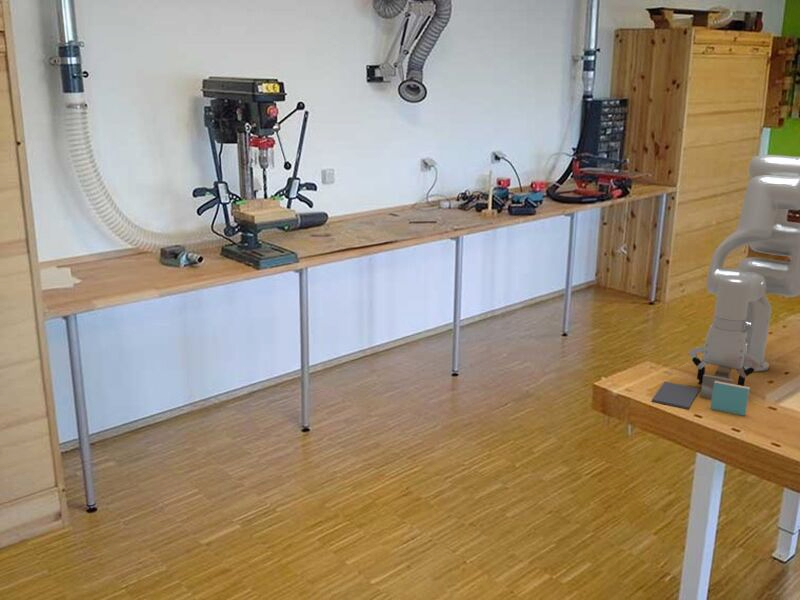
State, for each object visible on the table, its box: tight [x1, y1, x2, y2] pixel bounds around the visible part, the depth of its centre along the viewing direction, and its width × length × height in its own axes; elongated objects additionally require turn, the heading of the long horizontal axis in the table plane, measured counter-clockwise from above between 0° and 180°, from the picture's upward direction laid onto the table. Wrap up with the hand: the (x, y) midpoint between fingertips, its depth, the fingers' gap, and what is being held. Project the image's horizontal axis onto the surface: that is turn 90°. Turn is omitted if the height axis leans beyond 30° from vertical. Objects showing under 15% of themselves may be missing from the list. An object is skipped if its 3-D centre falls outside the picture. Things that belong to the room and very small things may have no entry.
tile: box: [709, 381, 751, 417], centre depth 193 cm, size 2×8×7 cm, turn 60°
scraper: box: [699, 366, 734, 400], centre depth 205 cm, size 13×7×6 cm, turn 150°
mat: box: [651, 381, 701, 410], centre depth 202 cm, size 15×9×1 cm, turn 150°
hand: (719, 386), depth 206 cm, fingers open, 9 cm apart
